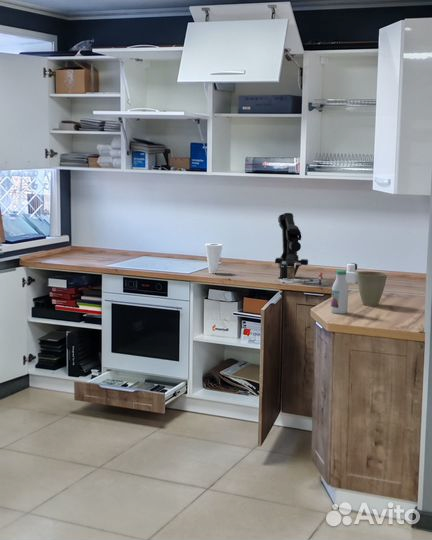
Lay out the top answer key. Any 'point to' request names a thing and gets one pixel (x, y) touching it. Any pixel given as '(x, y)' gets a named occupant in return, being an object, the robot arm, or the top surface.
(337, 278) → the milk bottle
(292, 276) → the block
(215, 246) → the cup
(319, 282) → the crank plate
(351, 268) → the medicine bottle
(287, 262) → the robot arm
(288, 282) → the tray
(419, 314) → the top surface
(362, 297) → the plant pot
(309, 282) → the crank
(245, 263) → the top surface
